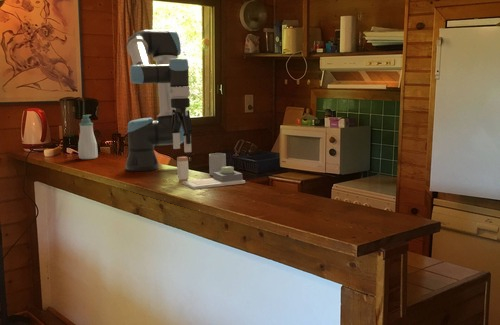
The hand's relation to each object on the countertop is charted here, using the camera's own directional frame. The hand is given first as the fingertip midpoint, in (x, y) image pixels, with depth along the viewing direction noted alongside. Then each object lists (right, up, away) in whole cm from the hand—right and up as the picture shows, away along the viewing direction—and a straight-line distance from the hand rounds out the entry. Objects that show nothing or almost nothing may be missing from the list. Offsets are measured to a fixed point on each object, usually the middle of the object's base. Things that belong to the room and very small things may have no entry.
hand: (182, 150), depth 229 cm
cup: (+13, -10, +17) cm, 24 cm away
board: (+13, -13, -3) cm, 19 cm away
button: (+18, -10, 0) cm, 21 cm away
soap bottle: (-58, -3, +71) cm, 92 cm away
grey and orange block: (0, -13, +2) cm, 13 cm away
